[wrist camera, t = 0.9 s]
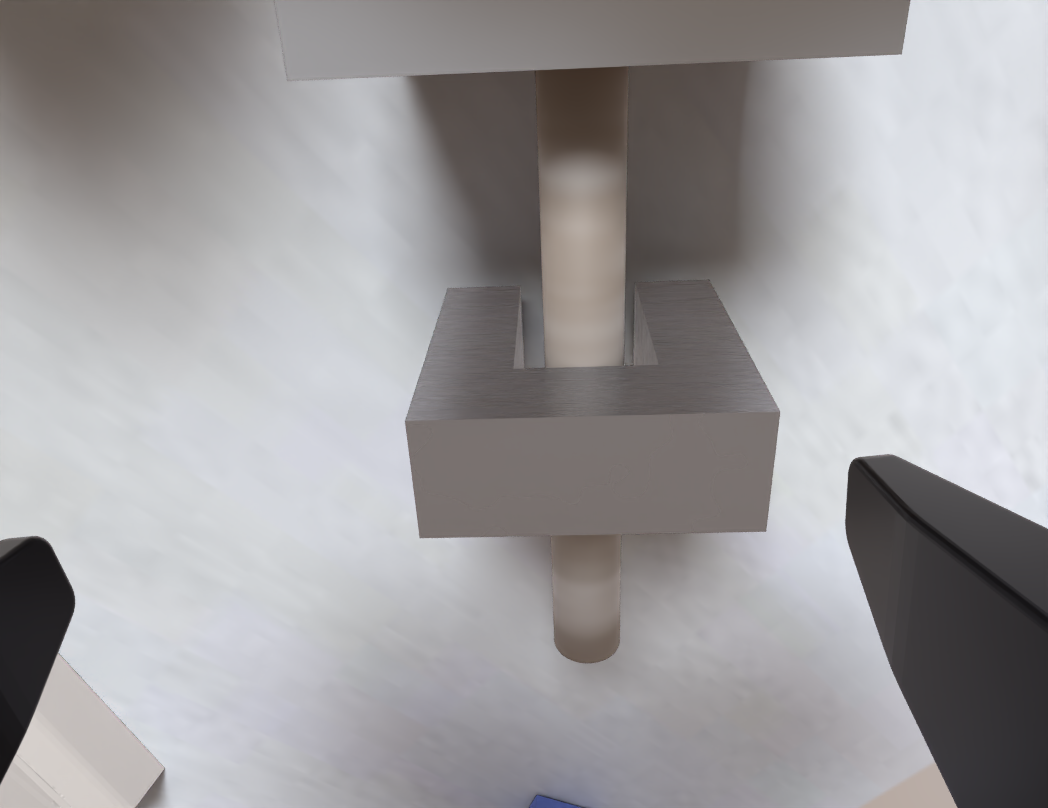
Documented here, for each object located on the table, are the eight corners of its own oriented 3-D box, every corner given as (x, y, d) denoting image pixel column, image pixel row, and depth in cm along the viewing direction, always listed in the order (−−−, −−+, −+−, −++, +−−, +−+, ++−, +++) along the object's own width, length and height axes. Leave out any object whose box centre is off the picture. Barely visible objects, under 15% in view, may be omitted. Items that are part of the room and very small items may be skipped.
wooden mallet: (361, -197, 16) (219, -331, 9) (783, -222, 16) (971, -381, 9) (440, 521, 25) (397, 741, 17) (720, 516, 24) (792, 738, 17)
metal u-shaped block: (709, 279, 20) (780, 411, 14) (703, 372, 21) (766, 531, 15) (447, 288, 20) (404, 420, 14) (455, 379, 21) (419, 538, 15)
